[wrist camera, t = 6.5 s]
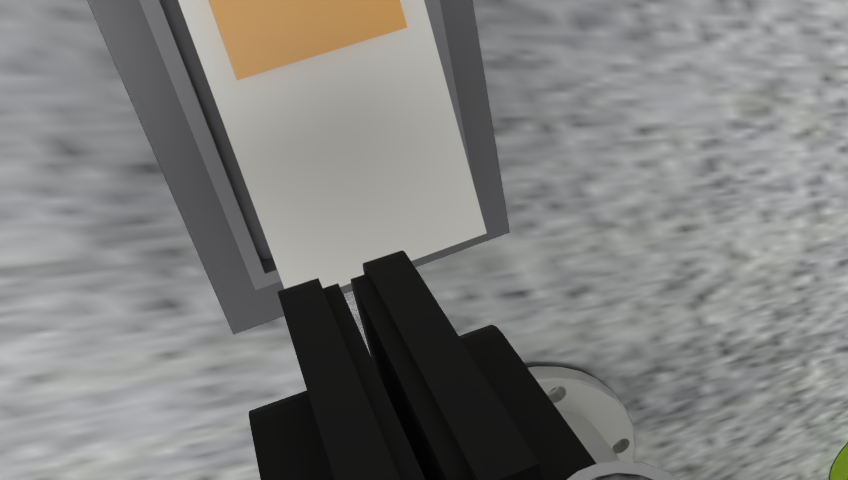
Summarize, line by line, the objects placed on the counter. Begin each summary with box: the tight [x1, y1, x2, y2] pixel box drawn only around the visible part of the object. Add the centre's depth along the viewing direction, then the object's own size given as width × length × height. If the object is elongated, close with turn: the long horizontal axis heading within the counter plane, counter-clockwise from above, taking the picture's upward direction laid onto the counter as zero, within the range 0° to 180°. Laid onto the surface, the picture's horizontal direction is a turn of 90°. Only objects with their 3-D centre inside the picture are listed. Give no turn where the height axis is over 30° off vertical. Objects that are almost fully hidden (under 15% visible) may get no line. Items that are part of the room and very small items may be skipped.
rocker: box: [178, 0, 487, 289], centre depth 18 cm, size 8×5×1 cm, turn 11°
